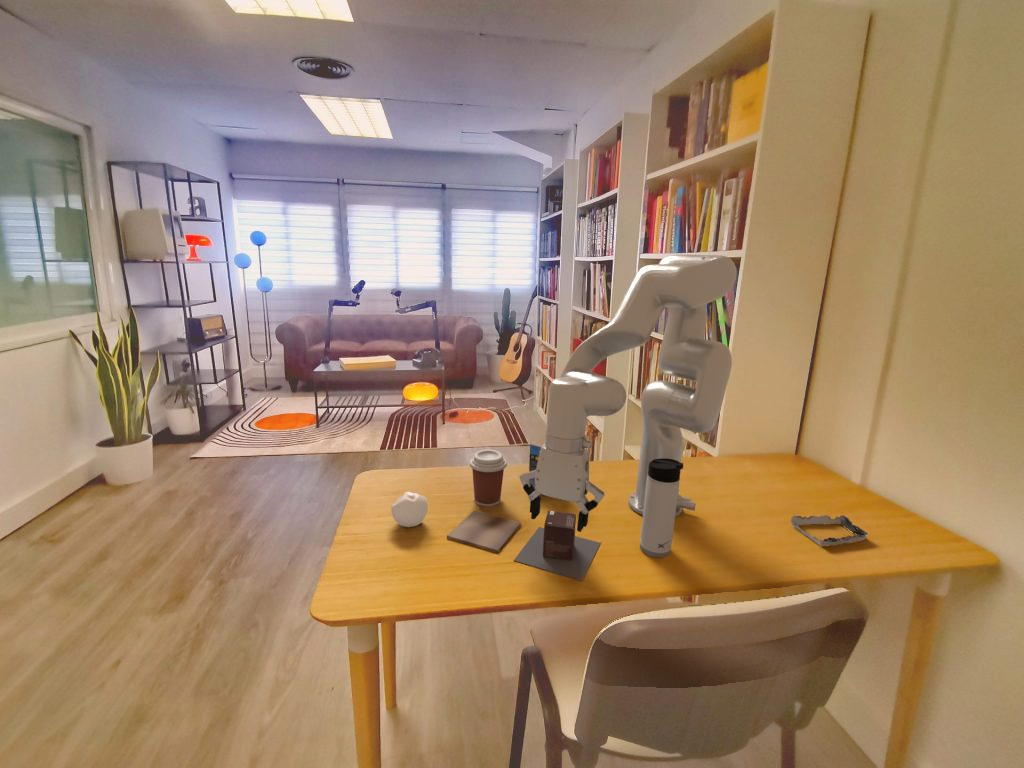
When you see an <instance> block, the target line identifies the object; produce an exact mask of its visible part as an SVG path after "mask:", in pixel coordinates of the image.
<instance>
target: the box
mask: <svg viewBox="0 0 1024 768" xmlns="http://www.w3.org/2000/svg"><path fill="white" fill-rule="evenodd" d="M576 521H577V514H576V513H572V512H571V513H570V512H560V511H555V510H554V511H552V510H548V511H547V512H546V516H545V521H544V524H543V525H544V526H543V528H544V540H543V557H548V558H556V559H563V560H572V558H573V551H574V541H575V536H576V523H577V522H576Z"/></svg>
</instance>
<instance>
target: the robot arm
mask: <svg viewBox="0 0 1024 768" xmlns="http://www.w3.org/2000/svg"><path fill="white" fill-rule="evenodd" d="M735 264H736V263H735V262H734V261H733V260H732V259H731V258H730V257H728V256H725V255H720V254H719V255H717V254H716V255H714V254H712V255H711V254H709V255H708V254H673V255H669V256H668V255H667V256H666V257H664V258H662V259H660V261H659V262H658V263H655V264H647V265H645V266H642V267H641V268H639V270H638V271H636V273H635V275H634V276H633V278H632V280H631V282H630V284H629V286H628V287H627V290H626V292H625V293H624V295H623V297H622V298H621V300H620V303H619V305H618V306H617V308H616V310H615V312H614V314H613V315H612V317H611V319H610V321H609V322H608V323H607V324H606V325H605V326H603V327H602V328H599V330H596V331H595V332H594V333H592V334H591V335H590V336H589V337H588V338H586V339H585V340H584V341H583V342H581V343H580V344H579V345H578V346H577V347H576V348H575V349H574V351H573V352H572V354H571V355H570V357H569V359H568V361H567V362H566V364H565V366H564V368H563V370H562V373H560V377H556V378H554V379H553V380H551V382H550V384H549V389H548V399H547V401H548V402H547V413H546V424H545V425H546V426H545V439H544V443H543V444H542V445H541V446H540V447H541V450H540V454H539V458H538V463H537V468H536V470H533V471H530V472H529V471H526V472H523V473H521V475H519V479H520V480H519V481H520V482H521V485H522V489H523V491H525V493H526V495H527V497H528V500H530V502H529V513H531V515H530V517H531V518H530V519H532V520H536V519H537V518H538V516H539V515H540V513H541V501H542V496H546V497H551V498H554V499H559V500H561V501H567V502H571V503H575V504H576V505H577V507H578V508H579V510H580V511H579V512H578V515H577V517H578V518H577V526H576V530H577V532H579V533H581V532H582V531H583V529H584V528H586V527H587V526H588V522H589V521H588V520H589V514H590V513H589V512H591V511H592V510H594V509H596V508H597V506H598V505H599V504H600V503H601V501H602V500H603V499H604V498H605V496H606V495H605V492H604V491H603V490H601V489H600V488H599V487H598V486H597V485H595V484H593V483H592V482H591V481H590V458H589V457H590V456H589V450H588V449H591V448H592V446H593V441H592V440H589V439H587V434H586V431H587V430H586V428H587V421H588V419H587V418H588V417H594V416H595V417H608V416H612V415H615V414H617V413H618V412H620V411H621V410H622V409H623V408H624V406H625V403H626V400H627V391H626V388H625V386H624V385H623V384H622V383H621V382H620V381H619V380H617V379H614V378H613V377H612V378H611V377H609V376H605V375H601V374H598V373H596V372H593V371H594V369H595V368H596V367H597V366H598V365H599V364H600V363H601V362H602V361H604V360H605V359H607V358H608V357H610V356H613V355H615V354H618V353H622V352H627V351H628V350H633V349H636V348H638V347H639V348H640V347H641V346H644V345H645V344H646V343H647V342H648V341H649V339H650V338H651V335H652V333H653V331H654V330H655V327H656V326H657V324H658V321H659V320H660V318H661V316H662V314H663V312H664V311H665V310H666V308H667V309H668V311H667V312H668V314H667V320H666V325H665V329H664V332H663V337H662V341H661V345H660V349H659V354H658V359H657V365H658V368H659V370H660V371H661V372H662V373H664V374H666V375H669V376H672V377H675V378H680V379H683V380H687V381H692V382H696V384H695V385H696V386H695V387H693V386H689V385H686V384H682V383H677V382H675V381H669V380H655V381H651V382H650V383H648V384H647V385H645V387H644V389H643V391H642V393H641V398H640V408H641V418H642V421H641V422H642V428H641V430H642V431H641V441H640V453H639V461H638V471H637V481H636V488H635V492H633V493H631V494H630V495H629V498H628V506H629V507H630V508H631V509H632V510H633V511H634V512H636V513H638V514H640V515H641V516H643V511H644V501H645V492H646V483H647V474H648V467H649V463H650V462H652V460H654V459H660V458H667V459H673V460H677V461H679V462H680V463H682V455H683V450H684V449H683V448H684V438H683V433H682V430H681V429H683V430H686V431H690V432H693V433H696V434H706V433H708V432H710V431H711V430H712V429H713V428H714V427H715V425H716V423H717V422H718V420H719V419H718V418H719V416H720V413H721V409H722V405H723V402H724V397H725V394H726V390H727V387H728V383H729V379H730V375H731V370H732V363H733V358H732V353H731V350H730V348H729V347H728V346H727V345H726V344H724V343H723V342H721V341H718V340H712V339H704V335H705V331H706V327H707V322H708V313H707V308H706V306H705V305H707V304H710V303H712V302H714V301H716V300H720V299H721V298H723V297H724V296H726V295H727V294H728V293H730V292H731V290H732V289H733V287H734V285H735V283H736V279H737V276H738V275H737V267H736V265H735ZM587 448H588V449H587ZM532 478H535V483H534V487H535V489H534V487H533V486H532V485H531V483H530V482H529V479H532ZM588 492H589V493H590V494H591V495H593V496H594V498H593V499H591V500H590V501H589V499H588V498H587V496H586V495H587V494H588ZM541 495H542V496H541ZM696 506H697V502H694V501H692V498H690V497H687V496H686V497H685V496H682V495H681V494H680V489H679V490H678V498H677V506H676V514H675V518H676V517H679V515H681V514H682V509H686V510H688V511H689V510H690V511H694V512H695V511H696Z"/></svg>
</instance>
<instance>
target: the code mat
mask: <svg viewBox="0 0 1024 768" xmlns="http://www.w3.org/2000/svg"><path fill="white" fill-rule="evenodd" d="M543 540H544V527H541V526H538V528H537V529H536V530H535V531H534V532H533V534H532V535H531V537H529V539H528V540H527V542H526V543H525V545H524V546H523V547H522V549H521V550H520V551H519V552H518V554H517V555H516V557H515V558H514V559H513V561H514V562H517V563H520V564H524V565H527V566H530V567H534V568H536V569H541V570H544V571H547V572H551V573H554V574H556V575H561V576H564V577H568V578H571V579H574V580H577V581H580V582H582V581H583V580H584V578H585V576H586V575H587V574H586V573H587V572H588V570H589V568H590V565H591V564H592V562H593V560H594V558H595V556H596V553H597V551H598V549H599V547H600V545H601V542H599V541H596V540H591V539H589V538H588V539H587V538H584V537H580V536H576V535H575V541H574V551H573V558H572V560H563V559H556V558H548V557H543Z"/></svg>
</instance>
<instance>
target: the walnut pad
mask: <svg viewBox="0 0 1024 768" xmlns="http://www.w3.org/2000/svg"><path fill="white" fill-rule="evenodd" d="M521 525H522V522H520V521H516V520H512V519H508V518H504V517H500V516H497V515H493V514H490V513H485V512H481V511H477V510H473V511H471V512H470V514H468V515H467V516H466V517H465V518H464V519H463V520H462V521H461V522H460V523H459V524H458V525H456V526H455V528H453V529H452V530H451V531H450V532H449V533H447V535H446V538H447V539H449V540H453V541H456V542H458V543H459V542H460V543H462V544H466V545H470V546H473V547H477V548H480V549H484V550H487V551H489V552H490V551H491V552H494V553H499V552H500V551H501V550H502V548H503V547H505V544H506V543H507V542H508V541H509V540H510V538H511V537H513V535H514V534H515V533H516V532H517V530H518V529H519V528H520V527H521Z"/></svg>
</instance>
